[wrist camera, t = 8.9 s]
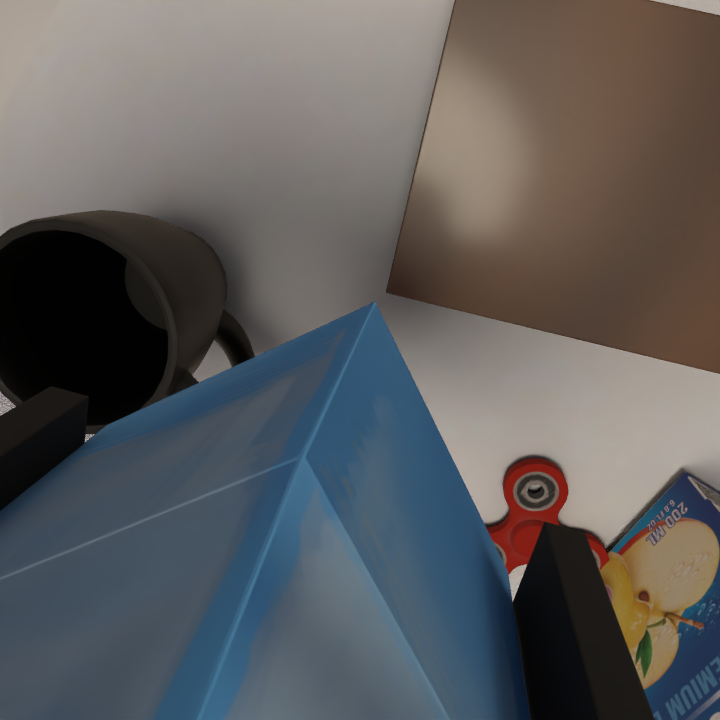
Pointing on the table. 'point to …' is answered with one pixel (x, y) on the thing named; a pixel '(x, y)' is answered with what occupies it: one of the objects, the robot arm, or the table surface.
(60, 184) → the table surface
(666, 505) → the juice carton
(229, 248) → the table surface
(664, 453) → the table surface
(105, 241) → the mug
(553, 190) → the shelf
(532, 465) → the fidget spinner
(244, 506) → the perfume bottle
